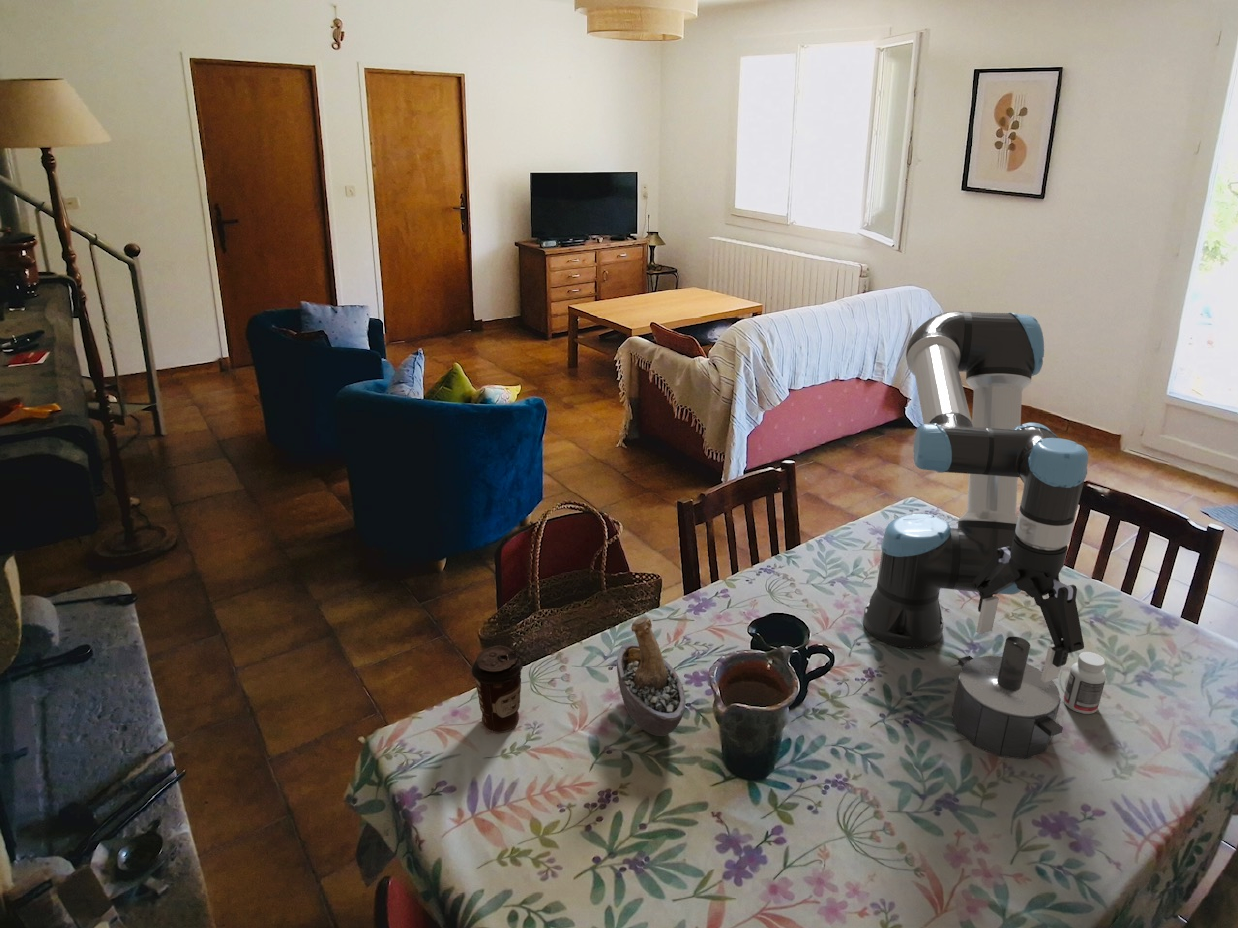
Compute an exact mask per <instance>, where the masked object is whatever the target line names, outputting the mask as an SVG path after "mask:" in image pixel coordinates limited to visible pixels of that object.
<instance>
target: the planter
mask: <svg viewBox="0 0 1238 928" xmlns="http://www.w3.org/2000/svg"><path fill="white" fill-rule="evenodd" d="M652 625H653V624H652V621H651V619H650V618H648V617H646V616H645V617H644V616H642V617H639V618H636V619H635V620H634V621H633V622H632V624H631V631H632V632H634V635H635V637H636V640H637V642H638V643H637V642H632V641H628V642H625V643H622V644H621V647H620V649H619V650H618V654H617V658H616V671H617V679H618V685H619V692H620V694H621V698H622V700H623V703H624V706H625V708H626V710H627V713H628V715H629V716H630V718H631V719H632V720H633V721H634V722H635V724H636V725H637V726H638V727H640V729H642V730H643V731H645V732H647V733H648V734H651V735H652V736H655V737H665V736H667V735H669V734H671V733H672V732H674V731H675V730H676V729H677V728H678V726H679V724H680V723H681V720H682V719H683V716H684V713H685V710H686V709H685V708H686V703H687V701H686V694H685V689H684V687H683V684H682V682H681V679H680V678H679V675H678V673H677V672H676V671H675V669H674V668H673V667H672V665H671V664H670V663H669V662H668V661H667V660H666V659H664V658H663V655H662V652H661V649H660V646H659V643H658V642H657V639H656V637H655V634H654V632H653V630H652Z"/></svg>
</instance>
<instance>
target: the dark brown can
mask: <svg viewBox="0 0 1238 928" xmlns="http://www.w3.org/2000/svg"><path fill="white" fill-rule="evenodd" d="M520 657H521V655H520V653H518V652H517V651H516V650H514V649H512V648H510V647H508V646H506V645H505V646H504V645H501V644H500V645H494V646H490V647H488V648H485V649H483V650H482V651H480V653H479V654H478V655H477V657H476V660H475V661H474V663H473V665H472V668H471V675H472V677H473V679H474V680H475V683H476V691H477V696H478V702H479V703H478V704H479V708H480V712H481V713H482V714H481V722H482V724H483V727H484V728H485V729H486V730H488V731H489V732H492V733H496V734H497V733H505V732H508V731H510V730H512V729H513V728H515V727H516V726H517V725H518V723H519V721H520V714H519V709H520V707H521V705H520V704H521V692H522V678H521V677H522V670H523V669H524V667H523V666H522V664H523V663H522V662H521V660H520Z"/></svg>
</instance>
